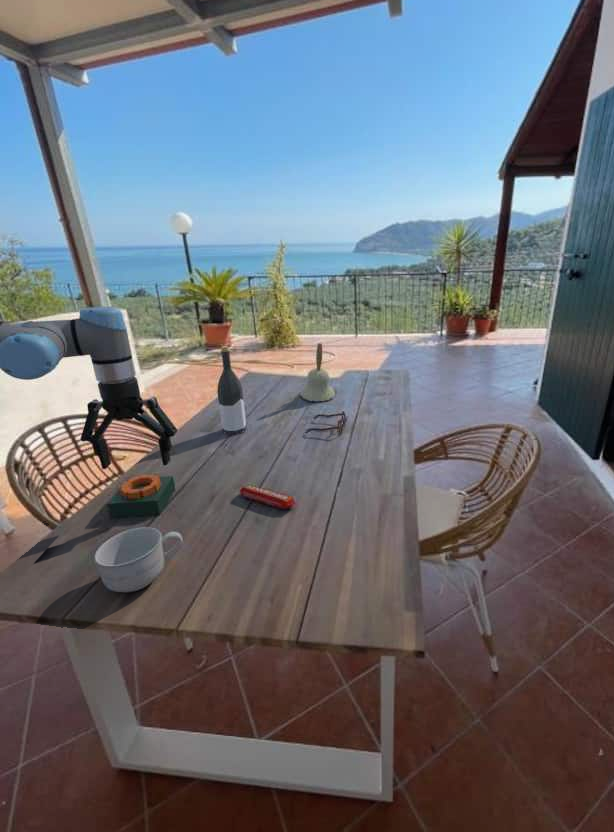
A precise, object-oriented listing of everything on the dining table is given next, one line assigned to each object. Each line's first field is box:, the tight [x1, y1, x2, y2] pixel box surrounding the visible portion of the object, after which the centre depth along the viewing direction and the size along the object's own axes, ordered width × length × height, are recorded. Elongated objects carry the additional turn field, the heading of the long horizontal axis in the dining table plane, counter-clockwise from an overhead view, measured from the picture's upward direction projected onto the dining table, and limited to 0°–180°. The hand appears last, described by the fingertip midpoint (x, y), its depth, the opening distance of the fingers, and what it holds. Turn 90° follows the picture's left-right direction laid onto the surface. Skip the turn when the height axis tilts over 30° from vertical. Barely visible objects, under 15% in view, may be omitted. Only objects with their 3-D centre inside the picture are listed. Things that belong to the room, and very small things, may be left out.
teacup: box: [94, 526, 184, 593], centre depth 72 cm, size 14×11×8 cm
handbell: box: [299, 342, 336, 402], centre depth 164 cm, size 15×15×25 cm
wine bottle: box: [216, 345, 247, 435], centre depth 132 cm, size 8×8×30 cm
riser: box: [106, 475, 176, 519], centre depth 95 cm, size 11×11×4 cm
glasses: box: [304, 410, 347, 435], centre depth 137 cm, size 13×13×5 cm
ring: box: [119, 474, 161, 499], centre depth 94 cm, size 8×8×2 cm
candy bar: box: [238, 484, 297, 510], centre depth 96 cm, size 16×4×3 cm, turn 64°
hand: (137, 464), depth 93 cm, fingers open, 13 cm apart
